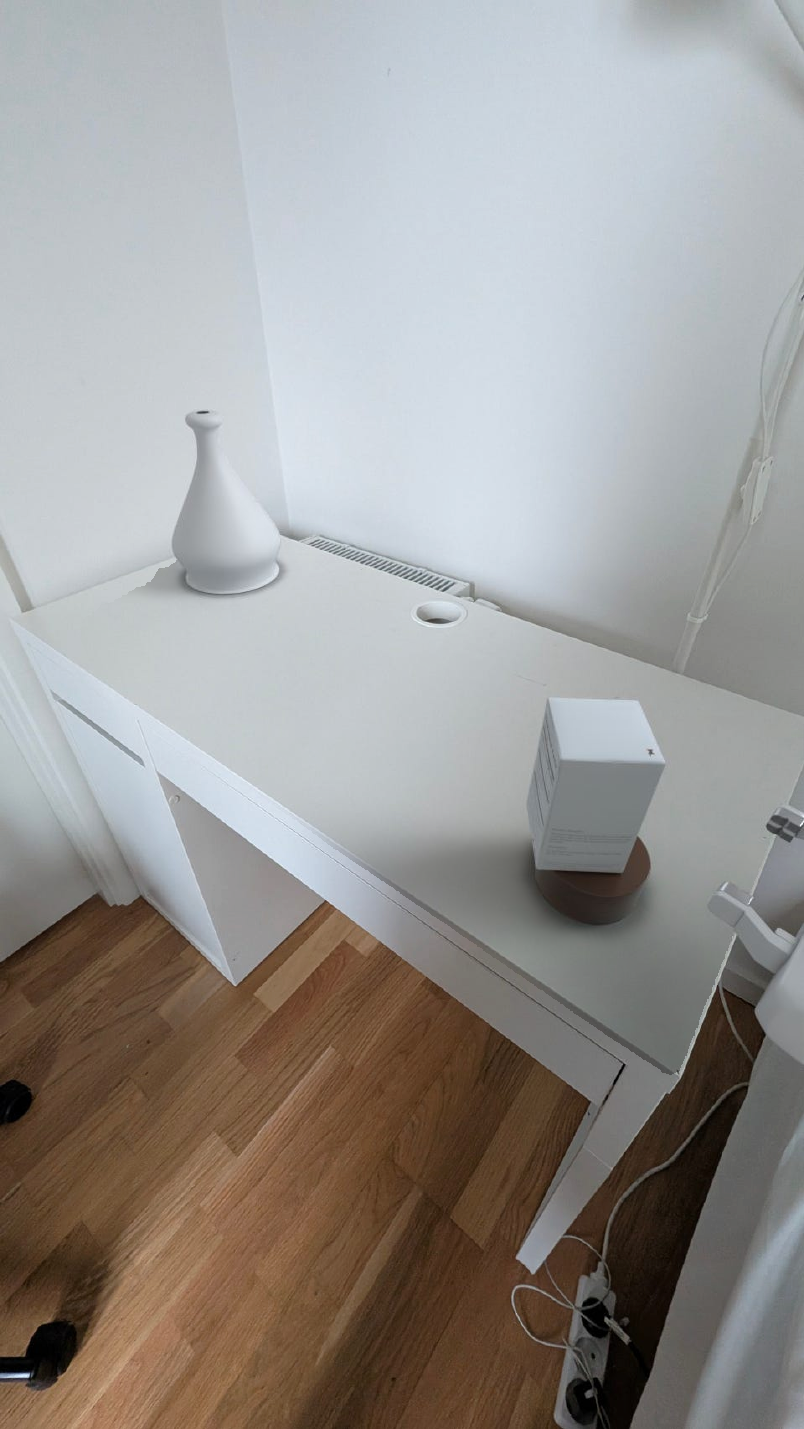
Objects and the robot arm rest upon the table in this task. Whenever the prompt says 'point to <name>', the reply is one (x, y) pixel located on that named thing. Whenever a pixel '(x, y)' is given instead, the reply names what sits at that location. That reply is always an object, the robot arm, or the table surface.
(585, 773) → the white packaging box
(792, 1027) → the robot arm
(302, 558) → the table surface
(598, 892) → the walnut riser
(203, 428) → the vase
